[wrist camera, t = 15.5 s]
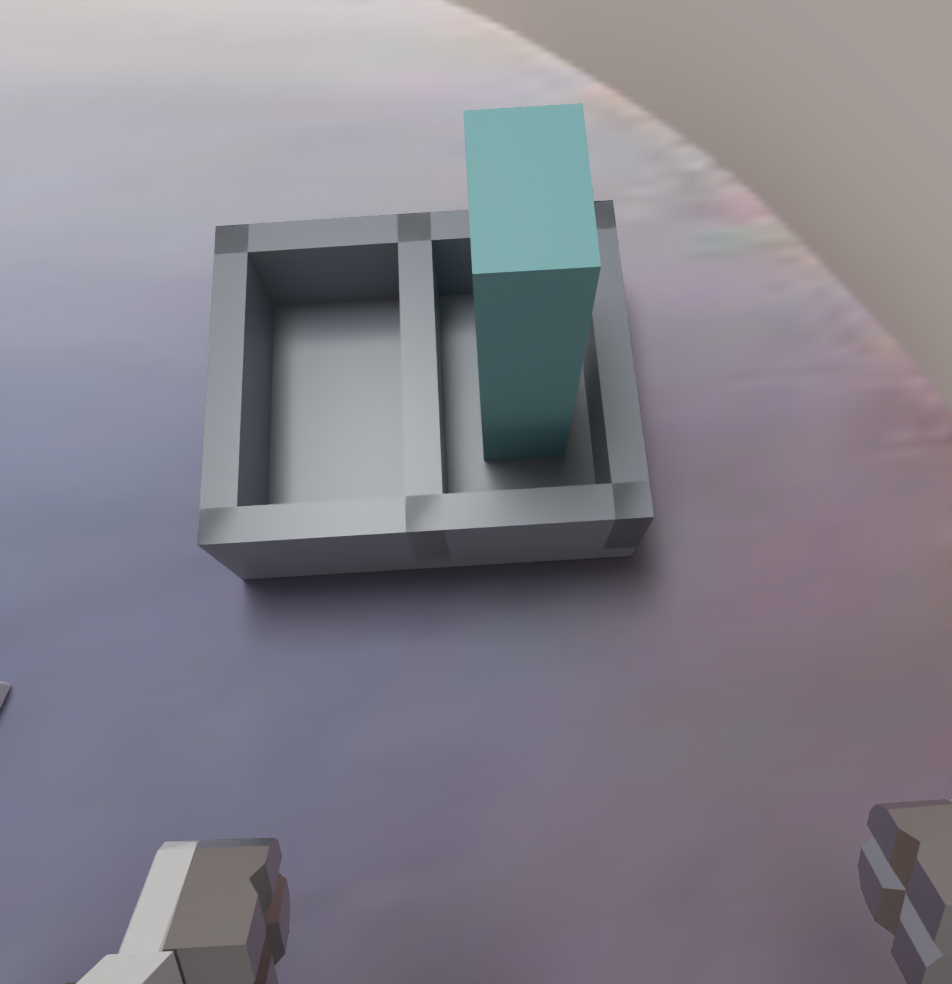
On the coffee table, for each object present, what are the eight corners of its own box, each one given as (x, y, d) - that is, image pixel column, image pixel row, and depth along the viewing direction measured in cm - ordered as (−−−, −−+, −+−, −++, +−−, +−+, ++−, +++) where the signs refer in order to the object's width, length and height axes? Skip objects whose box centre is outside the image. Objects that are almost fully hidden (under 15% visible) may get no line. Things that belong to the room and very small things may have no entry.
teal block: (483, 460, 26) (472, 274, 16) (477, 345, 27) (463, 110, 17) (565, 455, 26) (600, 266, 16) (554, 341, 27) (582, 103, 17)
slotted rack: (242, 579, 26) (197, 544, 22) (253, 298, 29) (215, 226, 25) (631, 555, 25) (654, 516, 22) (598, 275, 29) (612, 200, 25)
